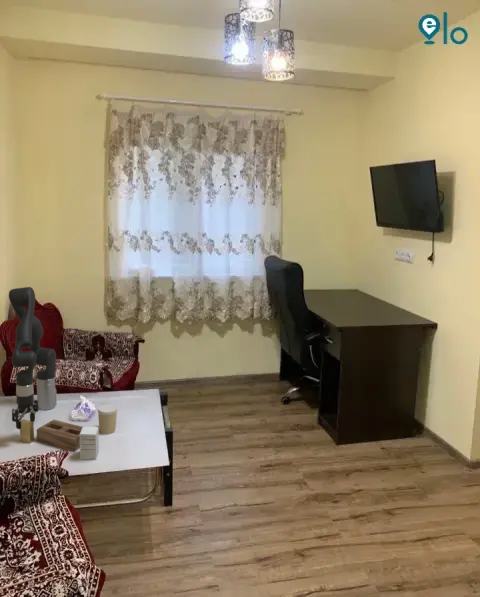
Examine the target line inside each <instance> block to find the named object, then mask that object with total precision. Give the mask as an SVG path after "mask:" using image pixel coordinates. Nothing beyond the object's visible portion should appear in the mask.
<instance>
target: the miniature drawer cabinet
mask: <svg viewBox="0 0 480 597" xmlns="http://www.w3.org/2000/svg"><path fill="white" fill-rule="evenodd" d="M82 427H83V428H82V430H81V432H80V448H79V460H90V461H91V460H97V458H98V455H99V452H100V451H99V450H100V447H99V446H100V444H99V443H100V439H99V438H100V436H99V433H100V430H99V426H82Z"/></svg>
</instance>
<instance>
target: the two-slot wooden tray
mask: <svg viewBox="0 0 480 597" xmlns="http://www.w3.org/2000/svg"><path fill="white" fill-rule="evenodd" d="M83 427H84V426H81V425H77V424H72V423H69V422H66V421H60V420H58V419H52V420H51V421H49V422H47V423H45V424H43V425H42V426H40V427H38V428H37V429H36V441H37V442H39V443H43V444H47V445H50V446H54V447H57V448H61V449H65V450H66V451H67V450H68V451H72V452H76V451H78V450H80V432H81V430H82V428H83Z"/></svg>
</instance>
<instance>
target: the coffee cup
mask: <svg viewBox="0 0 480 597" xmlns="http://www.w3.org/2000/svg"><path fill="white" fill-rule="evenodd" d="M97 414H98V416H97V418H98V427H99V433H100V434H103V435H111V434H113V433H115V432H116V426H117V417H118V416H117V414H118V408H117V406H115V405H112V404H111V405H110V404H105V405H101V406H99V407H98V409H97Z"/></svg>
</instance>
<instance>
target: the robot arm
mask: <svg viewBox="0 0 480 597" xmlns="http://www.w3.org/2000/svg"><path fill="white" fill-rule="evenodd" d="M8 299H9V302H10V305H11V307H12V309H13V311H14V313H15V314H16V316H17V319H18V320H19V323H18V325H17V326H16V329H15V347H14V350H13V353H12V357H11V361H10V362H11V364H12V366H13V367H15V368H23V367H27V368H25V369H22V370H19V371H18V372H17V373H16V374H15V375H16V376H15V377H16V386H15V387H16V388H15V390H16V391H15V396H16V397H15V398H16V404H17V407H16V408H12V409H11V421H12V422H14V423H15V428H16V429H17V430H20V429H21V420H23V419H24V418H25V415H27V414H29V421H32V422H36V421H35V420H36V413H37V412H39V410H40V411H48V410H52V408H53V409H55V407H56V406H57V403H58V402H57V388H56V375H55V374H56V370H57V369H56V368H57V366H56V363H57V353H56V350H55V349H54V348H47V347H42V346H40V341H41V340H42V337H43V336H44V328H43V326H42V322H41V321H40V319H39V318H38V317H37V316H35V315H34V314H35V307H36V306H35V305H36V294H35V291H34V288H32V287H31V286H25V287H19V288H18V287H17V288H13V289H10V290H9V292H8ZM25 307H26V309H25ZM27 348H29V350H26V351H24V349H27ZM22 350H23V351H22ZM36 365H37V366H45V368H44V369H41V370H38V371H37V372H36V399H35V396H34V395H35V393H34V379H33V378H34V369H35V366H36Z"/></svg>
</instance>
